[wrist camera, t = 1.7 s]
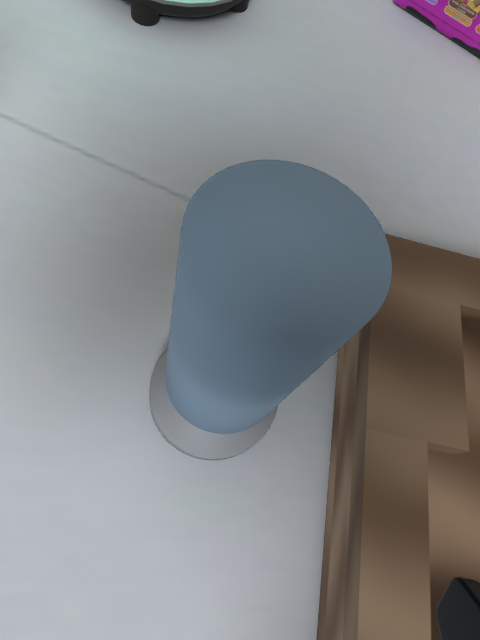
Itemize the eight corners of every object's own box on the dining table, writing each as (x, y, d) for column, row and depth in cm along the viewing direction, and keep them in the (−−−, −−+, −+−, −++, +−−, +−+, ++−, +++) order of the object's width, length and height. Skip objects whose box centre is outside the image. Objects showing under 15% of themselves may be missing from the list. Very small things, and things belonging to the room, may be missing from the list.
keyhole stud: (291, 435, 21) (463, 330, 10) (170, 479, 19) (204, 413, 8) (248, 325, 23) (348, 128, 12) (135, 355, 21) (120, 158, 10)
